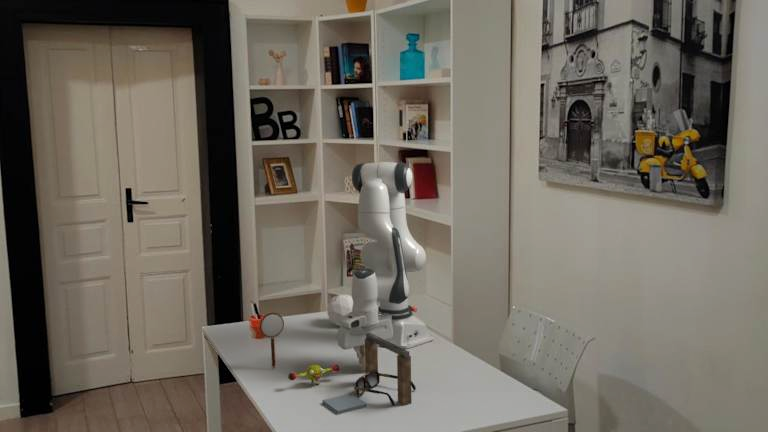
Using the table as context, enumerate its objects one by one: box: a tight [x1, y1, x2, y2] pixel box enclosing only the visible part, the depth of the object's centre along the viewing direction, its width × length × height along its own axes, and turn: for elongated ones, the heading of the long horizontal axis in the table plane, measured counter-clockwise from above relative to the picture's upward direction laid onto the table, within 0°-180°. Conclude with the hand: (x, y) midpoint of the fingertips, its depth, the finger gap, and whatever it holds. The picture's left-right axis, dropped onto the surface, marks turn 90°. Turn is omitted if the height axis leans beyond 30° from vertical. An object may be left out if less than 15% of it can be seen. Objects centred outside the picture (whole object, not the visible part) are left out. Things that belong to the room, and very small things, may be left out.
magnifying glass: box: [259, 312, 285, 369], centre depth 261 cm, size 9×2×20 cm, turn 116°
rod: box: [366, 333, 410, 358], centre depth 236 cm, size 2×23×2 cm, turn 32°
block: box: [358, 344, 365, 367], centre depth 257 cm, size 4×4×8 cm
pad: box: [322, 392, 368, 415], centre depth 230 cm, size 10×10×1 cm
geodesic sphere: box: [327, 293, 353, 327], centre depth 311 cm, size 14×14×14 cm
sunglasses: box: [353, 370, 417, 407], centre depth 237 cm, size 14×15×5 cm
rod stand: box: [364, 339, 412, 406], centre depth 238 cm, size 3×22×15 cm, turn 32°
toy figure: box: [287, 364, 340, 387], centre depth 246 cm, size 18×6×7 cm, turn 117°
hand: (366, 355), depth 258 cm, fingers closed on block, 4 cm apart
